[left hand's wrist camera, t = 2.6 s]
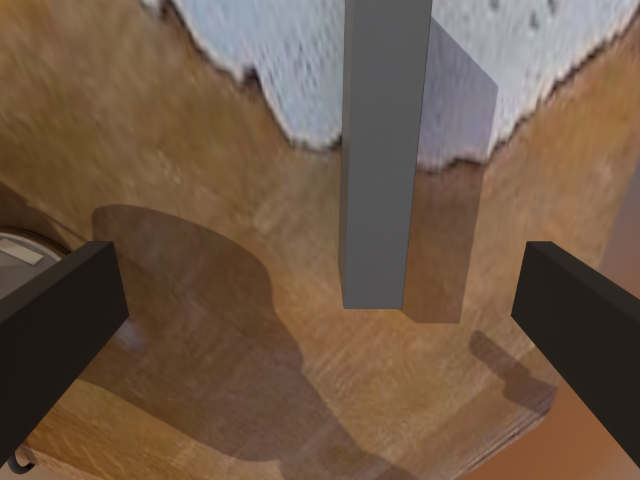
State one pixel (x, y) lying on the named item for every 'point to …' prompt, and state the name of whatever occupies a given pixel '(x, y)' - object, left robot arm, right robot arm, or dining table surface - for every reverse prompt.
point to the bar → (379, 145)
